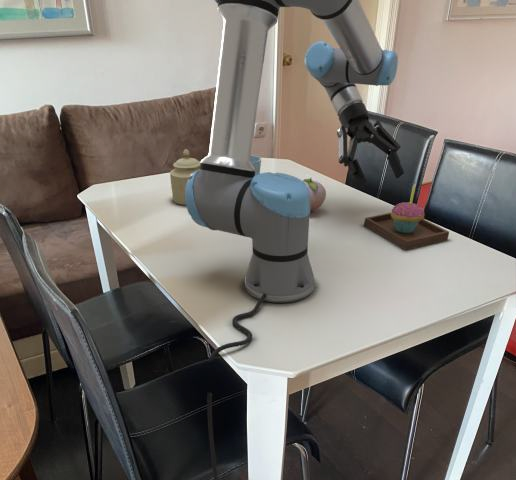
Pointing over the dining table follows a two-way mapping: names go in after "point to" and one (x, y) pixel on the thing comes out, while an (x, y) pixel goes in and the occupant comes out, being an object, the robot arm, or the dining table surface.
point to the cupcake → (407, 215)
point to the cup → (256, 163)
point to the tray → (419, 237)
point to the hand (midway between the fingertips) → (382, 180)
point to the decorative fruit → (315, 193)
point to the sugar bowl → (182, 176)
